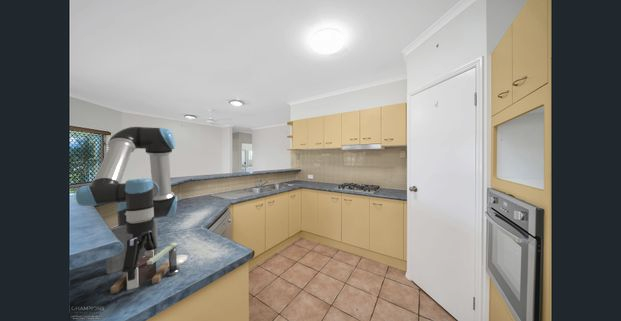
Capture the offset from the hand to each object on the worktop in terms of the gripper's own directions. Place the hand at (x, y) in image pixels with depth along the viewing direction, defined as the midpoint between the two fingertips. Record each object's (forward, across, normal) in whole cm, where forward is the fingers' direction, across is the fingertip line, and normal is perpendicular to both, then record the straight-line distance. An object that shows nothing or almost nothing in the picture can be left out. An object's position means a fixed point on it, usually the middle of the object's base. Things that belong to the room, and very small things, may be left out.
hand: (142, 276), depth 67 cm
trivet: (+1, -9, +8) cm, 12 cm away
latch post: (+1, 0, +10) cm, 10 cm away
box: (+2, 0, 0) cm, 2 cm away
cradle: (+1, 0, 0) cm, 1 cm away
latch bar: (-9, +5, +8) cm, 13 cm away
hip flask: (+1, -15, -8) cm, 17 cm away
